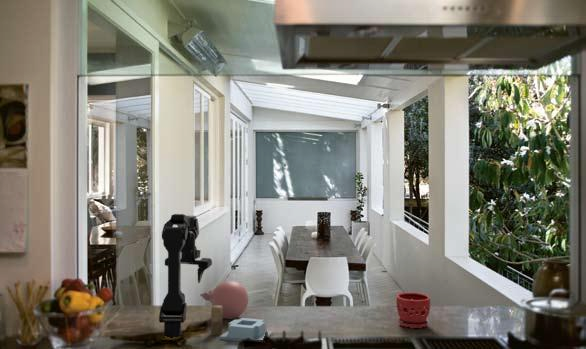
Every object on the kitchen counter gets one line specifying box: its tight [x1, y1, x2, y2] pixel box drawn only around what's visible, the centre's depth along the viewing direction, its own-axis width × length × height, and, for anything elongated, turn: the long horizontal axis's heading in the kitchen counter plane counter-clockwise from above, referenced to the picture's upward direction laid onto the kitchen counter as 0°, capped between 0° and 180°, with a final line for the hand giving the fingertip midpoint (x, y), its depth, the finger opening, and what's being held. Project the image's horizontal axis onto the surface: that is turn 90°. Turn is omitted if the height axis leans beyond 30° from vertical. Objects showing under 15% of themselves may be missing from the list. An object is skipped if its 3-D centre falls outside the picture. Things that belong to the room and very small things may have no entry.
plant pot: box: [395, 292, 431, 329], centre depth 202 cm, size 13×13×12 cm
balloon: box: [199, 280, 249, 320], centre depth 211 cm, size 15×20×15 cm
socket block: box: [219, 317, 274, 342], centre depth 184 cm, size 12×16×5 cm
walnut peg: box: [210, 305, 223, 336], centre depth 188 cm, size 4×4×10 cm
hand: (188, 281), depth 211 cm, fingers open, 9 cm apart
